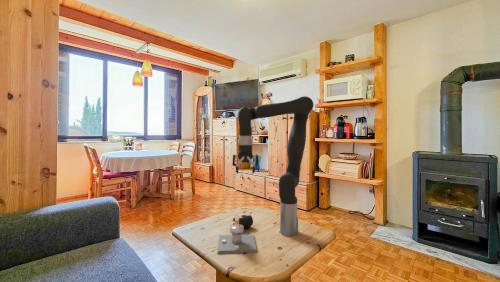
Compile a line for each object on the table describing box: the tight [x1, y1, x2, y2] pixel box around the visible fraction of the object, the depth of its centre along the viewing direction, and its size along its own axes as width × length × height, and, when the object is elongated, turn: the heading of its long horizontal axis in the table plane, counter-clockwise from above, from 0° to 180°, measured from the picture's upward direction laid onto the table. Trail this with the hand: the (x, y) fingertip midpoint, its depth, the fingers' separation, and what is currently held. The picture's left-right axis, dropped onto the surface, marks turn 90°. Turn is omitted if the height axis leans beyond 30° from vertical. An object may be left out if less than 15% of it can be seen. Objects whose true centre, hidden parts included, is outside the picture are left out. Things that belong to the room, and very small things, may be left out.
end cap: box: [232, 214, 254, 229], centre depth 131 cm, size 10×7×7 cm
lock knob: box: [229, 213, 245, 235], centre depth 111 cm, size 10×7×7 cm
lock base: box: [217, 233, 258, 255], centre depth 111 cm, size 18×16×6 cm
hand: (245, 173), depth 124 cm, fingers open, 8 cm apart
